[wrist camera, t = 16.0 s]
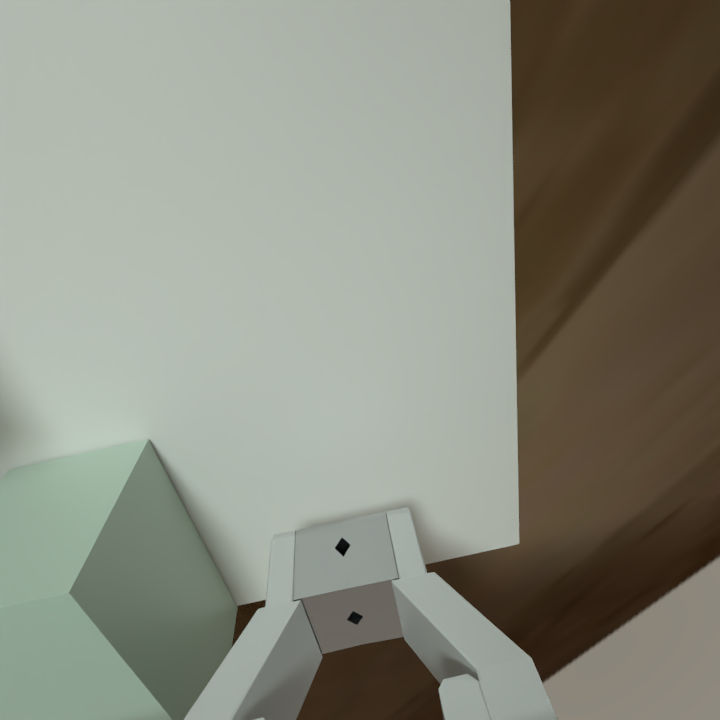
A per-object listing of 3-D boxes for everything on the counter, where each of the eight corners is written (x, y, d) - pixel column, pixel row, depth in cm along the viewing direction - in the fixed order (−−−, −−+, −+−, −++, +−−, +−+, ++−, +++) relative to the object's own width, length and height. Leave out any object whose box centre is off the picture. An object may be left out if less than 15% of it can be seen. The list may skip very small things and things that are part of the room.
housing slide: (9, 469, 9) (-140, 638, 6) (148, 439, 9) (68, 592, 6) (131, 631, 12) (70, 802, 9) (237, 607, 12) (213, 770, 9)
